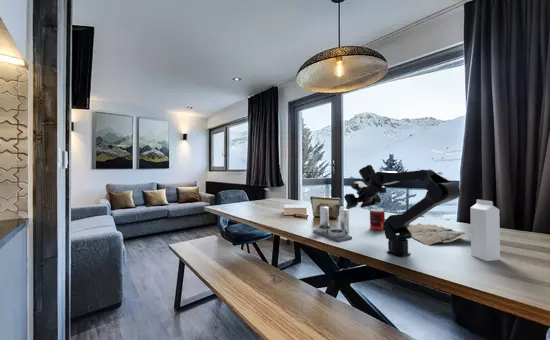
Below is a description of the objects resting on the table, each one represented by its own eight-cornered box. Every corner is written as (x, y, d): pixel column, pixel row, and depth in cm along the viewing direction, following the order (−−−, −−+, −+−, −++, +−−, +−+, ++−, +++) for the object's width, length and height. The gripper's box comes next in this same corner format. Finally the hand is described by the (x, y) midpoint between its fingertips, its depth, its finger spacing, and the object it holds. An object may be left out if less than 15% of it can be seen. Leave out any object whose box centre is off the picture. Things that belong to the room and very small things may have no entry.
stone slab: (484, 248, 101) (484, 236, 101) (417, 247, 106) (416, 236, 106) (443, 227, 134) (442, 219, 134) (392, 228, 138) (392, 219, 138)
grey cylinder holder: (352, 239, 117) (351, 210, 117) (338, 242, 113) (337, 212, 112) (326, 229, 135) (325, 205, 134) (313, 232, 130) (312, 206, 130)
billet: (351, 233, 127) (350, 209, 126) (344, 234, 124) (343, 210, 124) (344, 231, 131) (344, 207, 131) (338, 232, 129) (337, 208, 129)
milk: (483, 254, 93) (482, 198, 93) (500, 260, 87) (499, 200, 87) (470, 255, 92) (469, 199, 92) (486, 261, 86) (485, 201, 86)
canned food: (381, 227, 137) (381, 208, 137) (387, 231, 129) (386, 211, 129) (368, 227, 138) (368, 208, 138) (372, 231, 130) (372, 211, 130)
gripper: (377, 175, 117) (360, 193, 128) (347, 177, 110) (332, 195, 121) (389, 194, 110) (370, 211, 122) (358, 197, 103) (341, 215, 114)
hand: (353, 207), depth 120 cm, fingers open, 9 cm apart
